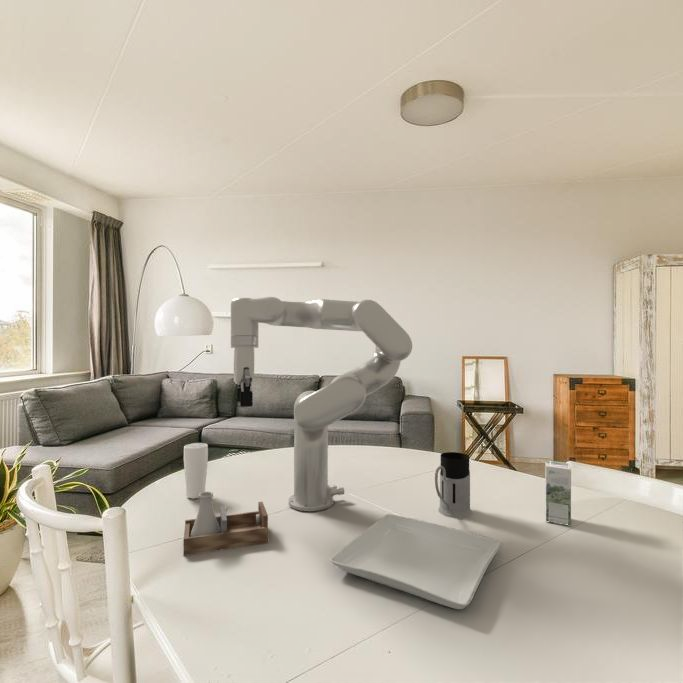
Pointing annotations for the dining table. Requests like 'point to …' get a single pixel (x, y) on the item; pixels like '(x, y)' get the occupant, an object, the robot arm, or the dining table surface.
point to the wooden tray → (230, 533)
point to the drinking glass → (195, 468)
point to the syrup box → (558, 492)
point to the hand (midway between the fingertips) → (244, 404)
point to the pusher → (223, 520)
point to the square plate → (420, 559)
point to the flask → (205, 517)
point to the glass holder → (454, 485)
